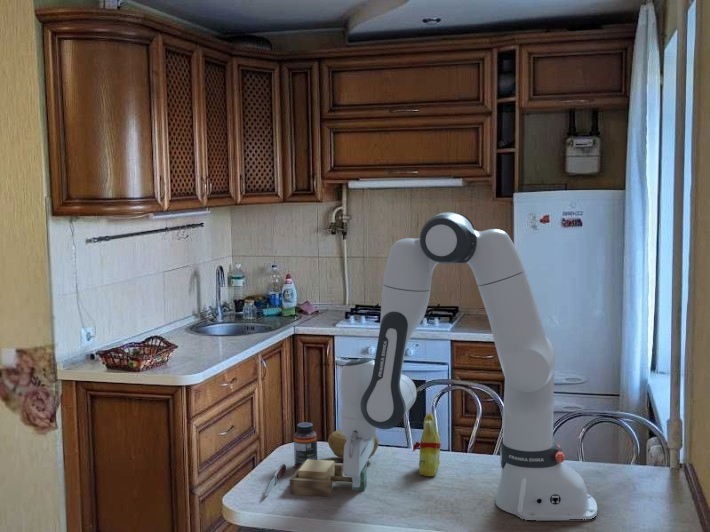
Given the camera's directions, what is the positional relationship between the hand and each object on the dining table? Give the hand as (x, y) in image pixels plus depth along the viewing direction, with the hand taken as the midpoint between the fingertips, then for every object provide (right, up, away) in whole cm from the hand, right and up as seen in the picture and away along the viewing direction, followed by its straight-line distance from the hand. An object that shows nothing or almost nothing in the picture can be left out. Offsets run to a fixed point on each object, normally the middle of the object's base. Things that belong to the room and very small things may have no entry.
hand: (359, 481), depth 197 cm
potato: (-2, 0, +20) cm, 20 cm away
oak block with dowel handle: (-6, -2, +1) cm, 6 cm away
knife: (-21, -2, +3) cm, 21 cm away
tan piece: (-10, -2, +2) cm, 10 cm away
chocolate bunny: (+17, 0, +12) cm, 21 cm away
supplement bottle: (-14, 0, +15) cm, 20 cm away
